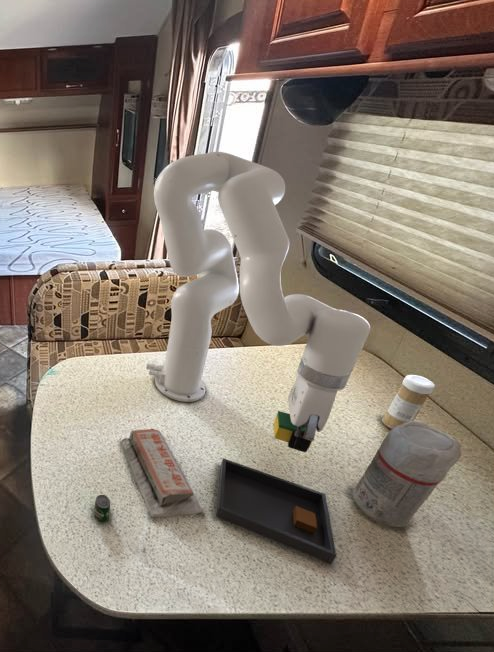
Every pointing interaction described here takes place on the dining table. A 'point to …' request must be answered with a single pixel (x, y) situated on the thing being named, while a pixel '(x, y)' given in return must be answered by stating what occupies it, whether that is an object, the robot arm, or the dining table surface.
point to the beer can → (102, 508)
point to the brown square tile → (304, 519)
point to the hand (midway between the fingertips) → (295, 439)
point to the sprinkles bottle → (408, 400)
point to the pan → (274, 509)
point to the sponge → (284, 427)
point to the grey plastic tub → (405, 472)
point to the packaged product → (159, 475)
